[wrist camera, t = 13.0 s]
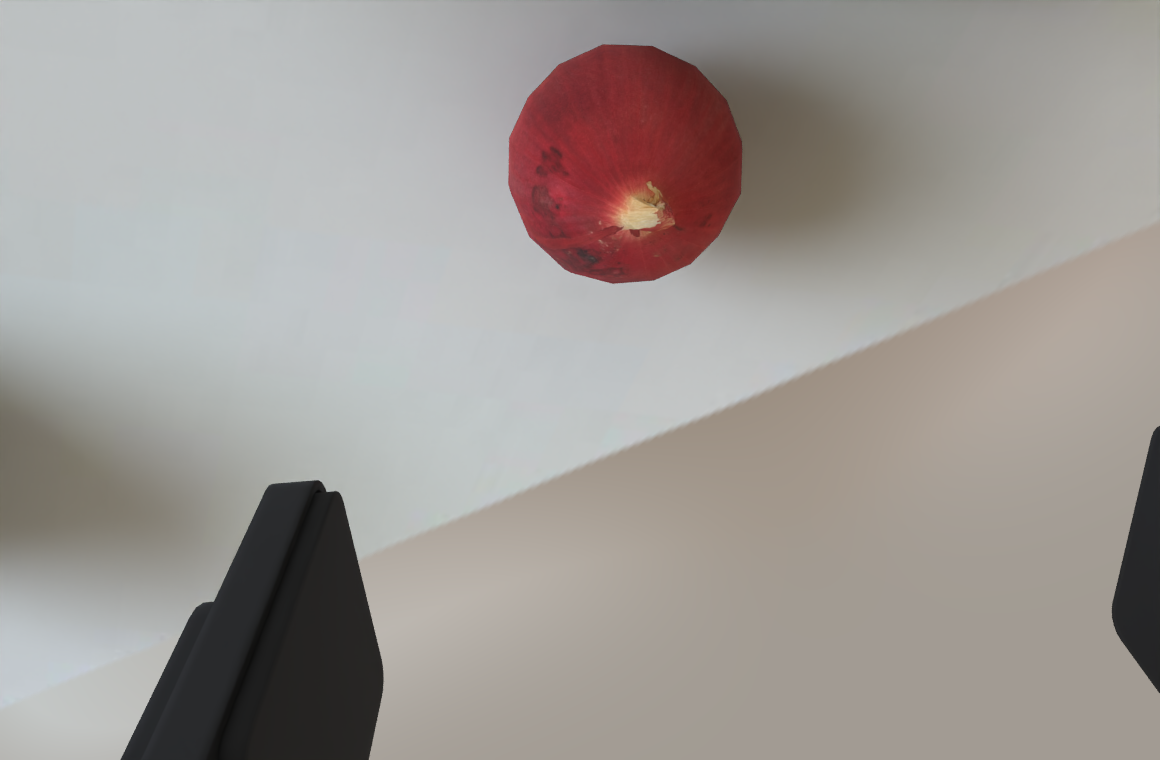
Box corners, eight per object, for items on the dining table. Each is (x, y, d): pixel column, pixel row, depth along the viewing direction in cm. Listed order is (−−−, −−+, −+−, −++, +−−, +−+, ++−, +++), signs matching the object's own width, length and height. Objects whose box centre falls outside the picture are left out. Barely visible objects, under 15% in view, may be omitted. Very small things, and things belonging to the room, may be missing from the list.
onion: (612, 263, 29) (633, 393, 22) (470, 132, 27) (445, 230, 20) (757, 126, 28) (829, 221, 21) (616, -26, 25) (644, 21, 18)
